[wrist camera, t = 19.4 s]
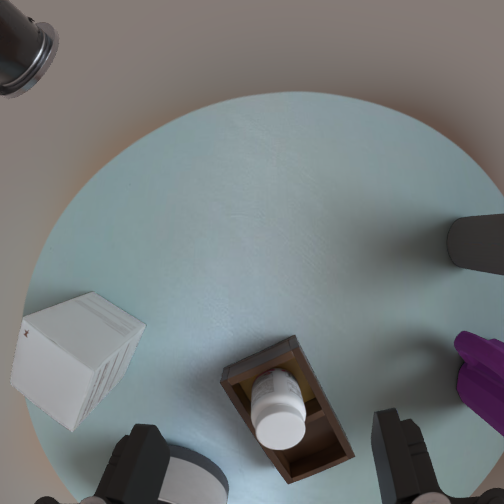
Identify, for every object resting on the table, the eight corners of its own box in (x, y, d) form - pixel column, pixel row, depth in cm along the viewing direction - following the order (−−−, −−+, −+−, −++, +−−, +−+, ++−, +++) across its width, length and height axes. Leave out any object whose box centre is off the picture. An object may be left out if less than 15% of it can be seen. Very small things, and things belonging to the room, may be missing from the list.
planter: (116, 472, 33) (88, 520, 23) (159, 420, 33) (130, 475, 22) (196, 517, 33) (184, 569, 23) (250, 473, 33) (247, 534, 22)
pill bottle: (251, 406, 31) (249, 453, 23) (252, 366, 31) (251, 407, 23) (296, 406, 31) (306, 453, 23) (300, 367, 31) (313, 407, 23)
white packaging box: (73, 342, 32) (6, 382, 20) (93, 288, 32) (20, 313, 19) (125, 378, 32) (72, 435, 20) (149, 325, 32) (95, 370, 19)
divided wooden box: (285, 466, 33) (287, 484, 29) (223, 367, 32) (219, 382, 28) (348, 439, 32) (355, 456, 29) (295, 334, 32) (299, 346, 28)
